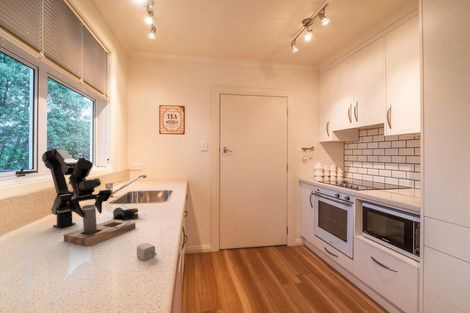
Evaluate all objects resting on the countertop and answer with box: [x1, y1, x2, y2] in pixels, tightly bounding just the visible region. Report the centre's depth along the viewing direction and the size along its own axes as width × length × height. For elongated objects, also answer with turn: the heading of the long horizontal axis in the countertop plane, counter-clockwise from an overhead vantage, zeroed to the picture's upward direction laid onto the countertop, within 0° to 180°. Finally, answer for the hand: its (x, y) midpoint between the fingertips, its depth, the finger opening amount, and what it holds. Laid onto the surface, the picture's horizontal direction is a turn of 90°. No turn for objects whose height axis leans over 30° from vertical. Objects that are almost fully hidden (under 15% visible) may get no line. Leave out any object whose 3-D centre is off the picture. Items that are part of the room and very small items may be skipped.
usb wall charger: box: [136, 242, 158, 262], centre depth 73 cm, size 4×7×4 cm, turn 51°
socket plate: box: [63, 218, 136, 247], centre depth 95 cm, size 14×22×3 cm, turn 158°
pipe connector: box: [112, 207, 139, 221], centre depth 117 cm, size 12×5×15 cm
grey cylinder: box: [81, 203, 98, 235], centre depth 90 cm, size 5×5×13 cm
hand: (92, 214), depth 90 cm, fingers open, 6 cm apart
